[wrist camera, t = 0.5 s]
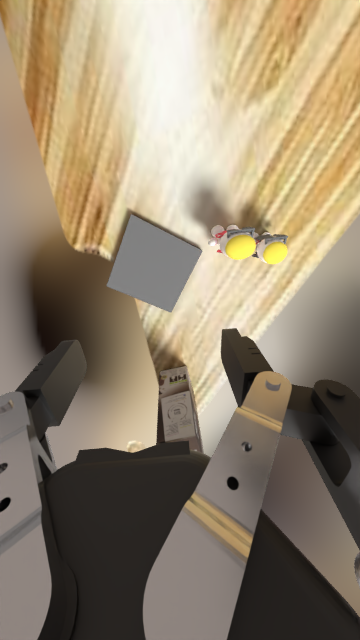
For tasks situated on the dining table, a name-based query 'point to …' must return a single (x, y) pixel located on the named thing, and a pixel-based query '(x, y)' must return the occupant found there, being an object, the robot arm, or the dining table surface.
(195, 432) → the coffee box
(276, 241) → the toy figures
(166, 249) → the mat
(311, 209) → the dining table surface
